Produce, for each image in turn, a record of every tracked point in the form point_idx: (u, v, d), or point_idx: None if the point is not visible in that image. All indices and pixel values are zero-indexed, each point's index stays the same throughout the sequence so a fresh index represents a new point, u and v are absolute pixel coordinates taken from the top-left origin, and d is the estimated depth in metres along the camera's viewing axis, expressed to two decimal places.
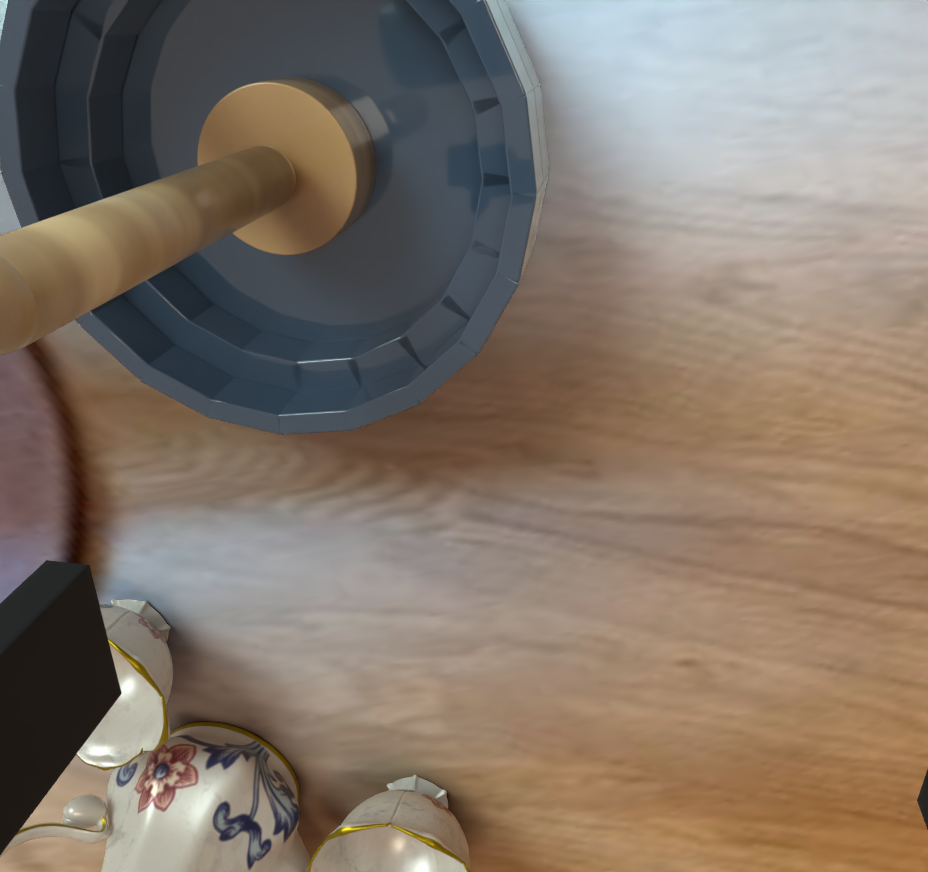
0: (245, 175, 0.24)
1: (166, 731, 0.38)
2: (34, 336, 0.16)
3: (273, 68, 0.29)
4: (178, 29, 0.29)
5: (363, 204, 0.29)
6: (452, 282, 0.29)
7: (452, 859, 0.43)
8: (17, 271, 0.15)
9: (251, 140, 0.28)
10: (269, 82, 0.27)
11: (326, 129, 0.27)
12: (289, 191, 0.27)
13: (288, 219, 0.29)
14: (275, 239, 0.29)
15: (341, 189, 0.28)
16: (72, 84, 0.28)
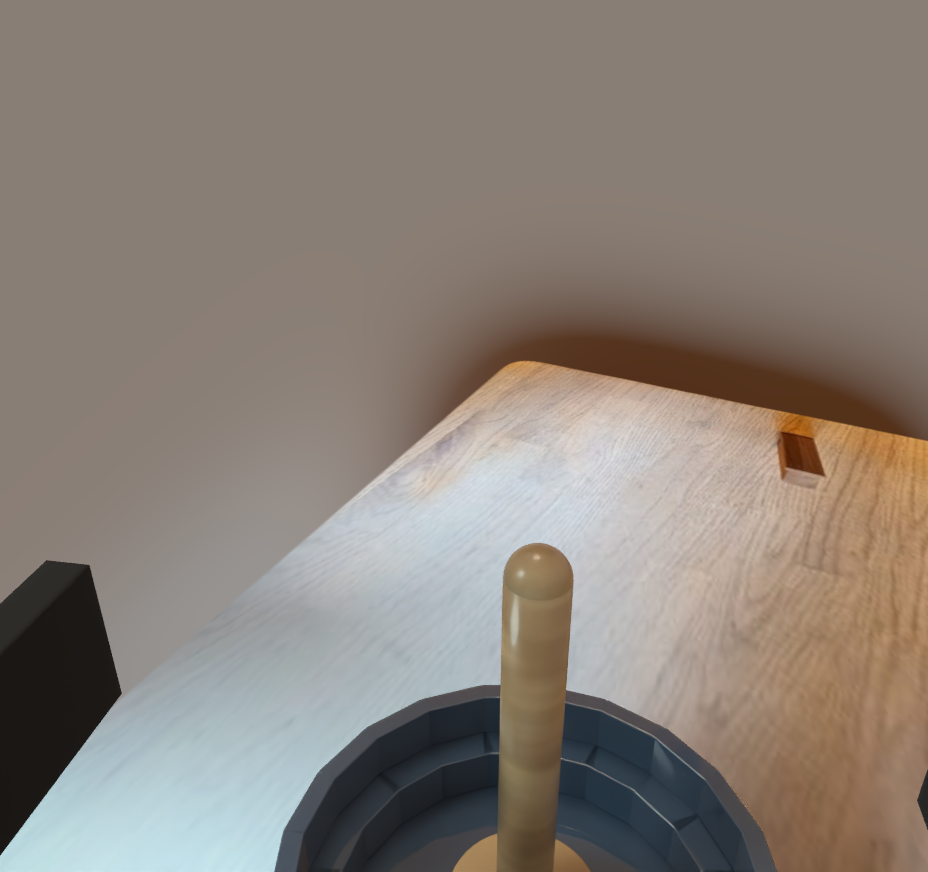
0: None
1: None
2: None
3: None
4: None
5: None
6: (661, 814, 0.34)
7: None
8: None
9: None
10: (455, 866, 0.32)
11: None
12: None
13: None
14: None
15: (558, 852, 0.32)
16: None
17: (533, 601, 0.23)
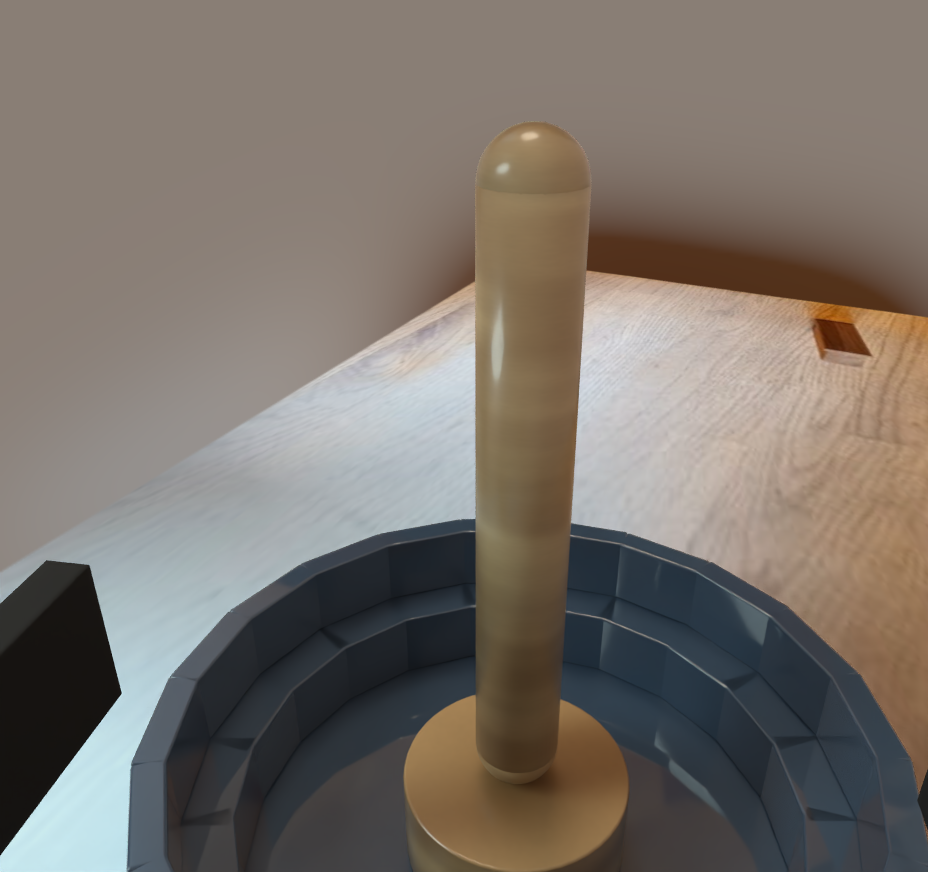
0: None
1: None
2: None
3: (399, 812, 0.23)
4: None
5: None
6: (707, 671, 0.24)
7: None
8: None
9: (466, 776, 0.21)
10: (419, 733, 0.22)
11: None
12: None
13: (578, 783, 0.20)
14: (598, 810, 0.20)
15: (565, 715, 0.22)
16: None
17: (524, 197, 0.14)
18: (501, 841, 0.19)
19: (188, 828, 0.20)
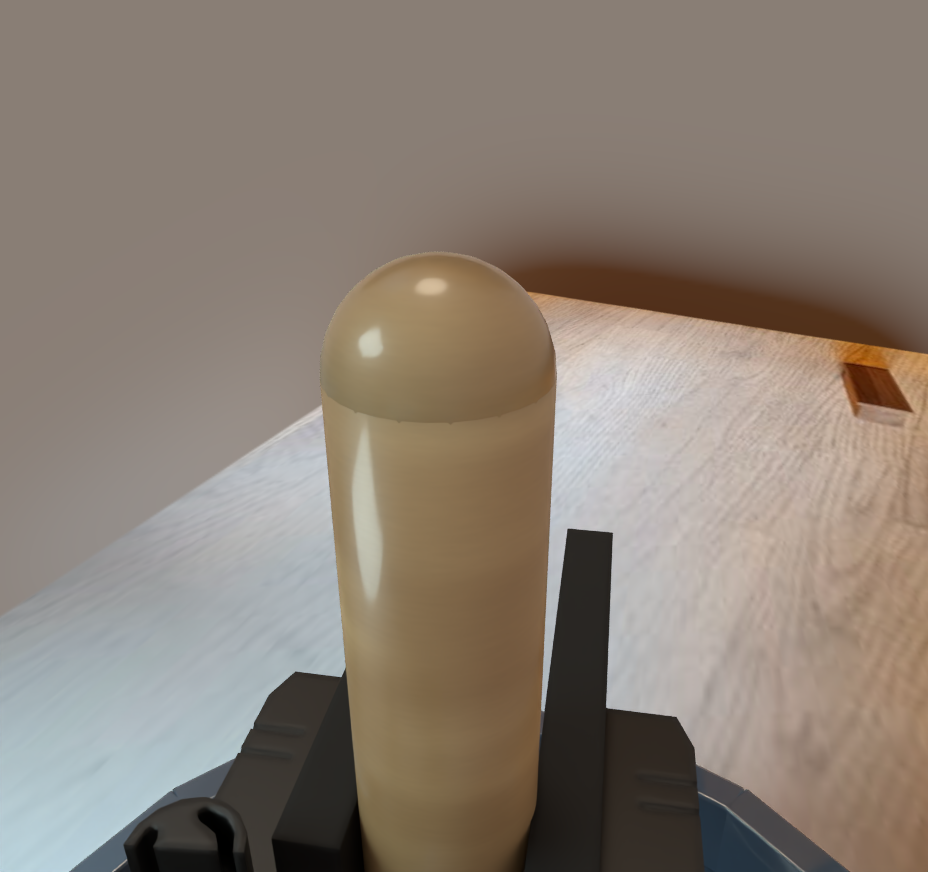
0: None
1: None
2: None
3: None
4: None
5: None
6: None
7: None
8: None
9: None
10: None
11: None
12: None
13: None
14: None
15: None
16: None
17: (408, 429, 0.06)
18: None
19: None
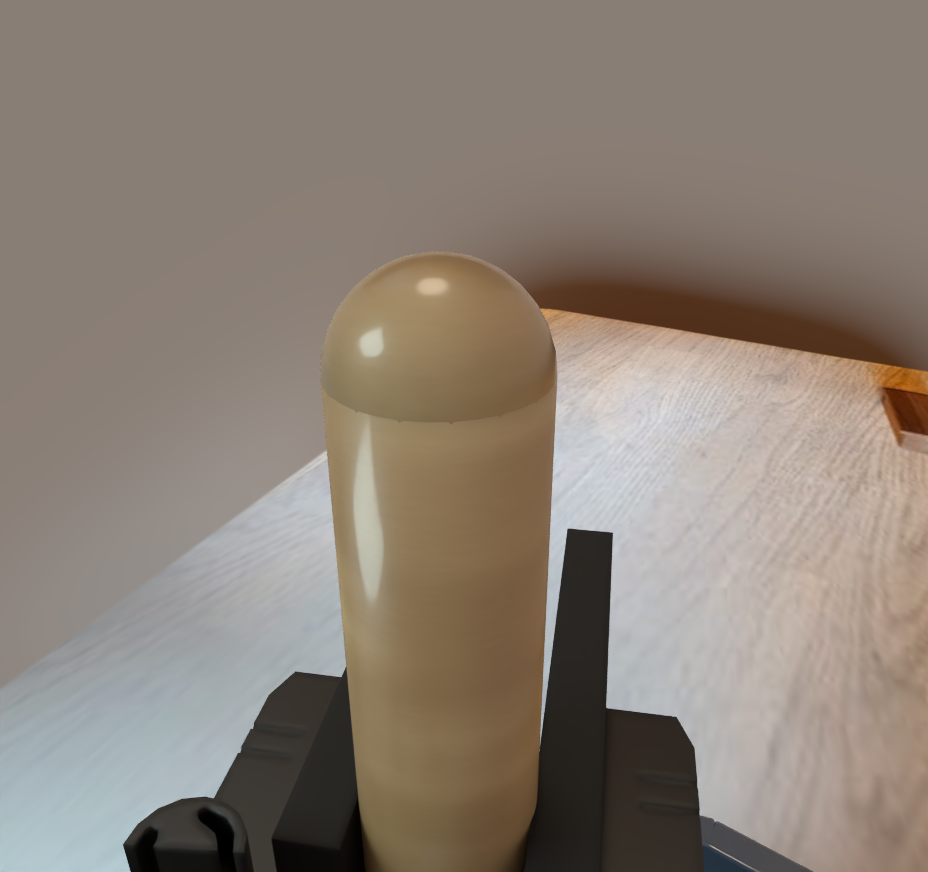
0: None
1: None
2: None
3: None
4: None
5: None
6: None
7: None
8: None
9: None
10: None
11: None
12: None
13: None
14: None
15: None
16: None
17: (406, 429, 0.06)
18: None
19: None
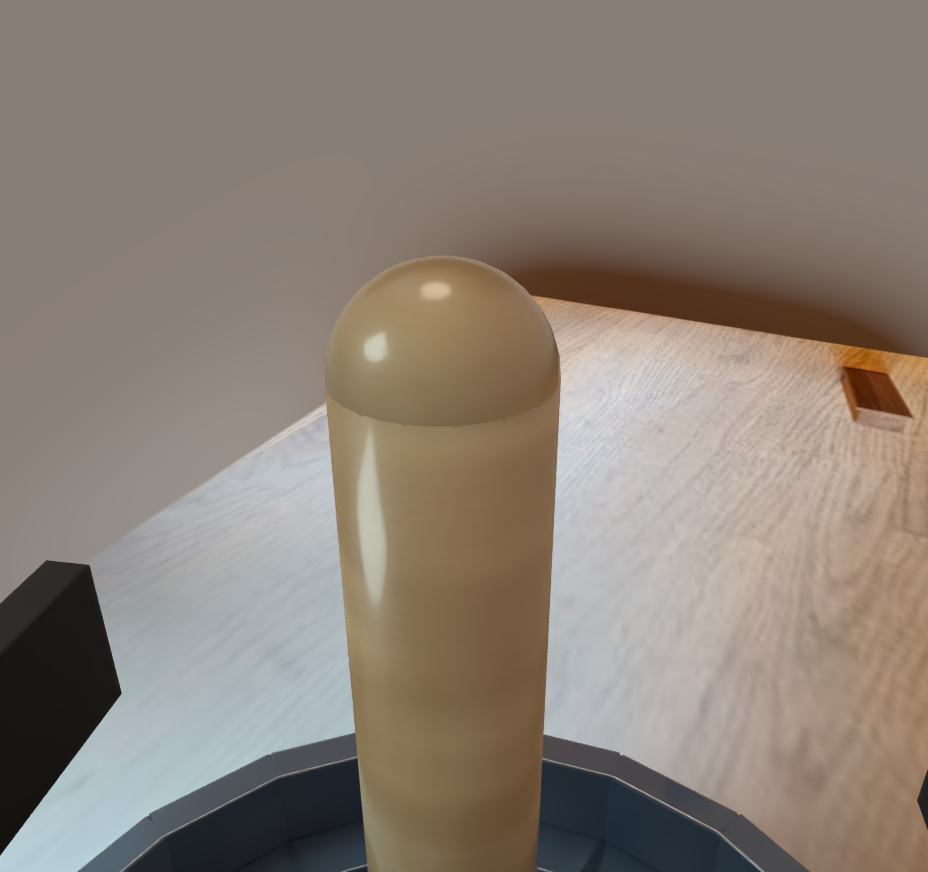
0: None
1: None
2: None
3: None
4: None
5: None
6: None
7: None
8: None
9: None
10: None
11: None
12: None
13: None
14: None
15: None
16: None
17: (412, 433, 0.06)
18: None
19: None
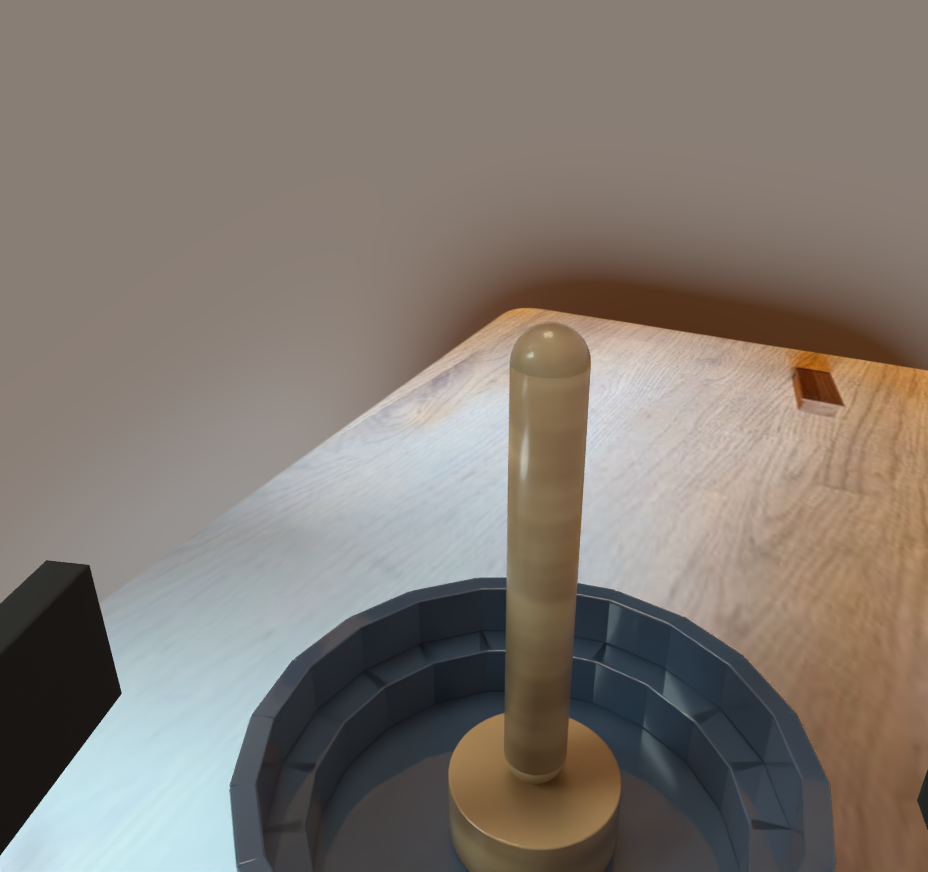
0: None
1: None
2: None
3: (431, 821, 0.28)
4: None
5: None
6: (679, 708, 0.30)
7: None
8: None
9: (496, 777, 0.27)
10: (458, 744, 0.28)
11: None
12: None
13: (582, 783, 0.27)
14: (598, 804, 0.26)
15: (572, 730, 0.29)
16: None
17: (544, 380, 0.20)
18: (524, 826, 0.25)
19: (270, 834, 0.25)
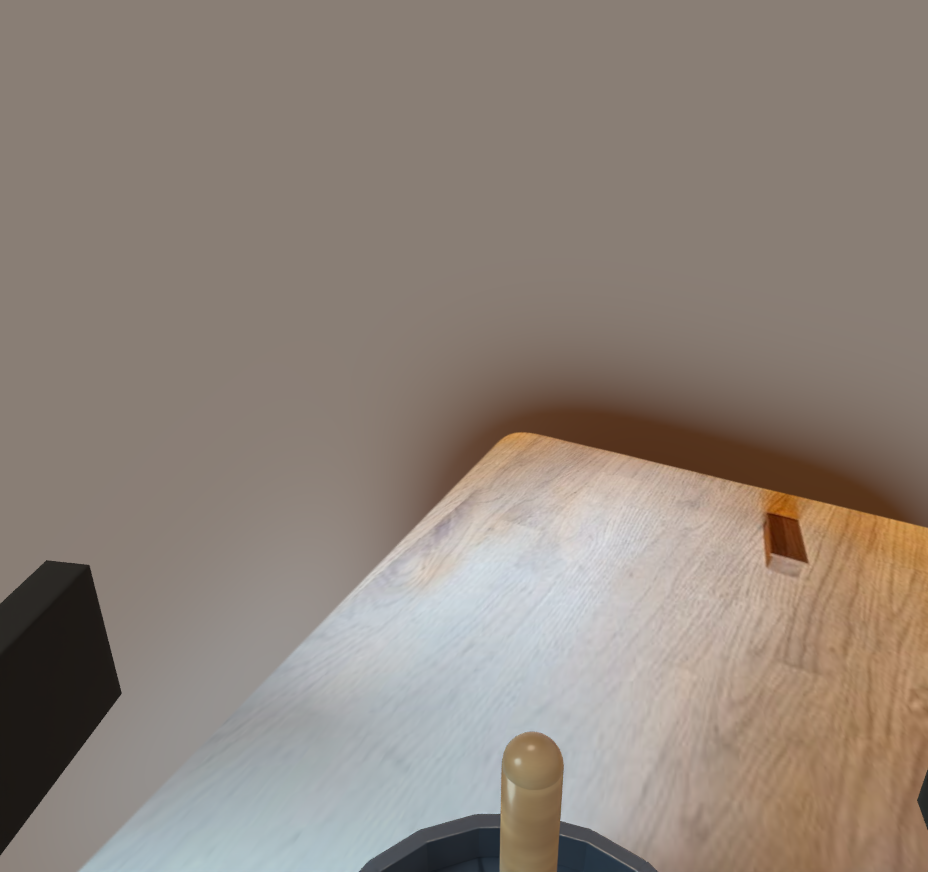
0: None
1: None
2: None
3: None
4: None
5: None
6: None
7: None
8: None
9: None
10: None
11: None
12: None
13: None
14: None
15: None
16: None
17: (528, 790, 0.26)
18: None
19: None
